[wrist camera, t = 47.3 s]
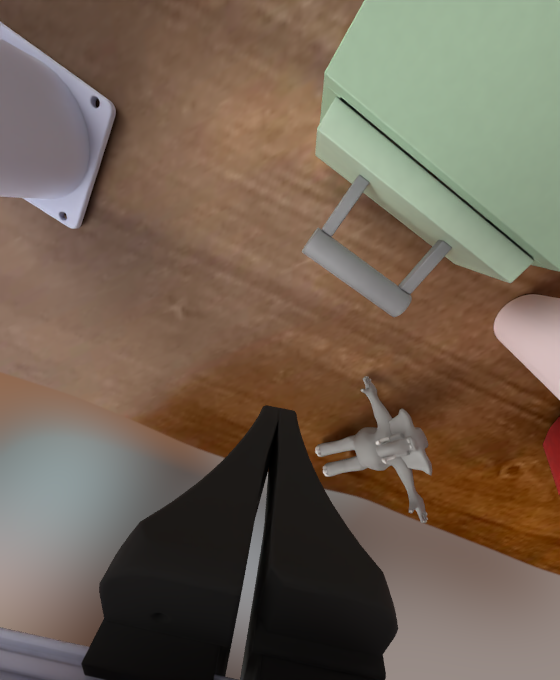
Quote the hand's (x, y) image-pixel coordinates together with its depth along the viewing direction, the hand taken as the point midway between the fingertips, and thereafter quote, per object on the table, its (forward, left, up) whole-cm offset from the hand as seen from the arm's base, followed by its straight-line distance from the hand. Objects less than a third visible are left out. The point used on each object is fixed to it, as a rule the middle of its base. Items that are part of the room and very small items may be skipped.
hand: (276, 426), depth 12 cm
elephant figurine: (+10, -3, -10) cm, 15 cm away
